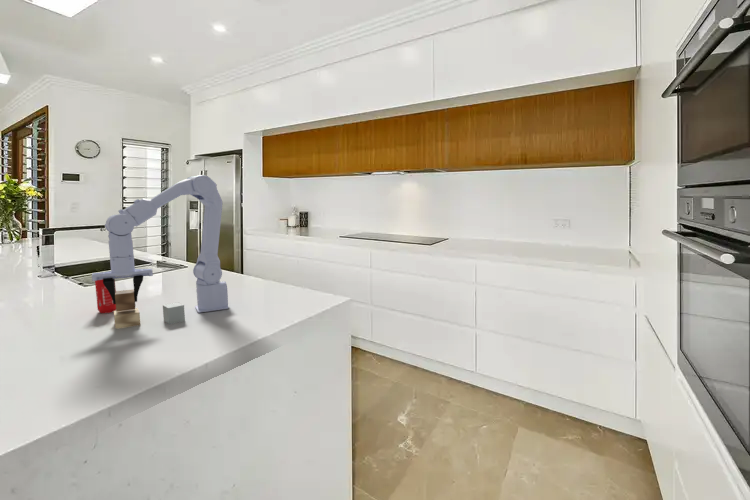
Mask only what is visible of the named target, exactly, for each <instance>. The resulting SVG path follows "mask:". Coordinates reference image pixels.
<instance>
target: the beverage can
mask: <svg viewBox="0 0 750 500" xmlns="http://www.w3.org/2000/svg"><path fill="white" fill-rule="evenodd" d="M94 282H95V283H94V284H95V295H96V296H95V298H96V305H97V307H96V308H97V311H98V312H99V314H111V313H114V311H116V304H114V303H113V300H112V297H111V295H110V293H109V291H108V290H107V288H106V287H105V286H104V284H103V280H97V281H94ZM116 291H117V288H116V287H115V292H116Z"/></svg>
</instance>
